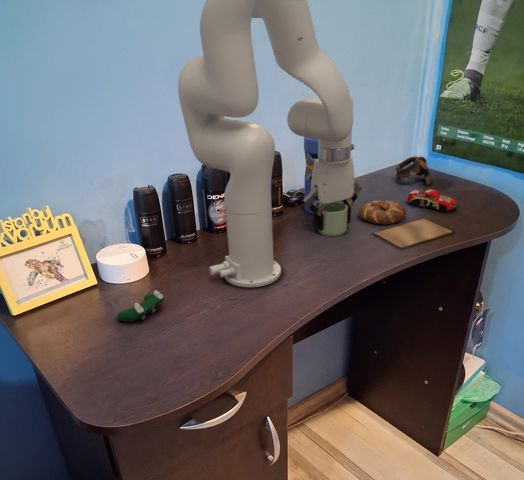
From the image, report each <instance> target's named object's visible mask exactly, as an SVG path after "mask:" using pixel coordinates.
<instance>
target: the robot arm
mask: <svg viewBox="0 0 524 480" xmlns="http://www.w3.org/2000/svg"><path fill="white" fill-rule="evenodd" d="M252 19H262V20H263V21H262V22H263V23H264V27H265V29H266V32H267V35H268V39H269V42H270V45H271V49H272V53H273V55H274V58H275V59H274V60H275V63H276V64H277V66H278V67H279V68H280V69H281V70H282V71H283V72H285V73H286V74H288V75H289V76H291V77H292V78H293V79H296V80H297V81H299V82H300V83H302V84H304V85H305V86H306V87H308V88H309V89H310V90H311V91H312V92H313V93H314V94H315V95H316V96H317V98H304V99H300V100H298V101H296V102H295V103H294V104H293V105H291V107H290V108H289V110H288V113H287V118H286V121H287V126H288V129H289V130H290V131H291V132H292V133H293V134H294V135H296V136H299V137H303V138H304V137H308V138H315V139H318V159H316V160H315V162H314V166H313V172H312V180H311V192H310V193H309V194H308V195H307V196H306V197H305V196H304V198H303V200H302V201H303V203H304V205H305V204H306V206H307V207H308V208H309V209H310V210H311V211H312V212H313V213H314V214H313V226H314V228H315V229H317V230H318V229H319V230H320V231H321V230H323V223H324V216H323V215H322V212H323V209H324V207H325V205H326V204H329V203H333V202H337V201H338V202H341V201H342V203H344V204H346V205H347V206H348V217H347V224H350V223H351V216H352V208H353V207H354V204H355V202H356V201H357V199H358V198H359V197H358V196H359V195H360V193H361V192H362V189H363V187H362V186H361V185H359V184H358V183H357V182H355V165H354V160H353V157H352V155H351V154H352V151H353V150H355V145H354V144H353V143H352V136H353V127H354V126H353V125H354V110H353V109H354V100H353V98H352V97H351V94H350V89H349V86H348V84H347V81H346V79H345V77H344V76H343V75H342V73H341V72H340V71H339V69H338V68H337V67H336V66H335V64H334V63H333V62H332V60H331V59H330V58H329V57H328V56H327V55H326V54H325V52H323V51H322V49H321V48H320V46H319V44H318V41H317V39H318V38H317V35H316V31H315V26H314V24H313V23H314V22H313V19H312V15H311V9H310V6H309V2H308V0H205V3H204V5H203V8H202V10H201V14H200V21H199V36H200V42H201V50H202V55H201V56H194V57H192V58H190V59H189V60H188V61H186V62H185V64H184V65H183V66H182V68H181V70H180V73H179V77H178V83H177V93H178V99H179V100H178V101H179V104H180V109H181V112H182V117H183V121H184V126H185V130H186V134H187V138H188V141H189V145H190V148H191V151H192V153H193V155H194V157H195V158H196V160H197V161H198V162H199V163H200V164H202V165H204V166H206V167H209V168H212V169H215V170H216V169H217V170H220V171H225V172H227V173H229V174H230V176H229V180H228V183H227V185H226V186H225V189H224V193H223V197H224V198H223V201H224V202H223V203H224V214H225V225H226V235H227V246H228V255H225V256H224V261H222V262H221V263H220V264H215V265H210V266H209V267H208V272H209V275H210V276H215V275H218V274H219V277H220V278H224V279H225V281H226V282H228V283H229V284H231V285H232V286H235V287H241V288H259V287H260V288H261V287H264V286H268V285H270V284H272V283H274V282H276V281H278V279H279V278H280V277H281V275H282V267H281V264H279V263H278V262H276V261H275V260H274V236H273V235H274V234H273V232H274V231H273V208H272V207H273V206H272V177H273V176H272V175H273V168H274V162H275V155H276V145H275V140H274V137H273V136H272V134H271V132H270V131H269V130H268V129H267V128H266V127H264V126H262V125H260V124H258V123H254V122H250V121H245V120H238V119H239V118H240V119H242V118H246V117H248V116H250V115H252V114H253V113H255V111H256V109H257V107H258V105H259V96H260V95H259V94H260V93H259V83H258V76H257V75H258V74H257V70H256V63H255V61H256V60H255V56H254V49H253V41H252V32H251V31H252V30H251V29H252ZM225 117H226V118H225ZM230 118H231V119H230ZM232 118H233V119H232ZM235 118H237V119H235ZM312 200H316V201H315V203H314V205H313V203H312ZM319 204H320V206H319ZM318 206H319V208H318Z"/></svg>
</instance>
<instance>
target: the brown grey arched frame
mask: <svg viewBox="0 0 524 480" xmlns="http://www.w3.org/2000/svg"><path fill="white" fill-rule="evenodd" d="M395 172H396V175H395V178H396V179H397V180H398V181H400V180H401V179H404V178H407V179H411V173H415V174H416V176H424V177H423V179H424V181H425V185H426V186H428V185H430V183H431V175H430V170H429V167H428V165H427V159H426V158H425V157H424V156H419V157H418V156H416V155H414V156H411V157H408V158H406V159H404V160H403V161H400V163H399V164H398V166H397V167H395Z"/></svg>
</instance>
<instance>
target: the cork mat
mask: <svg viewBox="0 0 524 480" xmlns="http://www.w3.org/2000/svg"><path fill="white" fill-rule="evenodd" d="M452 233H453V231H452V230H450V229H448V228H446V227H444V226H442V225H440V224H437V223H435V222H433V221H431V220H429V219H426V218H421V219H417V220H413V221H410V222H406V223H404V224H399V225H396V226H392V227H390V228H385V229H383V230H379V231H376V232H374V233H373V235H374V236H376V237H378V238H380V239H382V240H384V241H386V242H388V243H389V244H391V245H393V246H395V247H397V248H399V249H406V248H408V247H411V246H415V245H418V244H421V243H424V242H427V241H430V240H431V241H432V240H434V239H437V238H440V237H443V236H446V235H449V234H452Z"/></svg>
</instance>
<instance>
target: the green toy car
mask: <svg viewBox="0 0 524 480" xmlns="http://www.w3.org/2000/svg"><path fill="white" fill-rule="evenodd" d="M164 299H165V297H164V295H163V294H162V293H161V292H160V291H159V290H156V289H155V290H154V291H153V292H152V293H148V294H146V295H145V296H144V297H143V302H142V303H140V304H139V302H135V303H134V305H133V306H132V307H131V308H127V309H124V310H121V311H119V313H118V314H117V320H118V321H120V322H134V321H136V320H140V319H141V321H142V320H144V319H146V318H147V316H146V315H147V313H152V314H153V313H154V312H156V311H157V309H156V307H158V306H160V305H161V304H162V303H163V302H164Z"/></svg>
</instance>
